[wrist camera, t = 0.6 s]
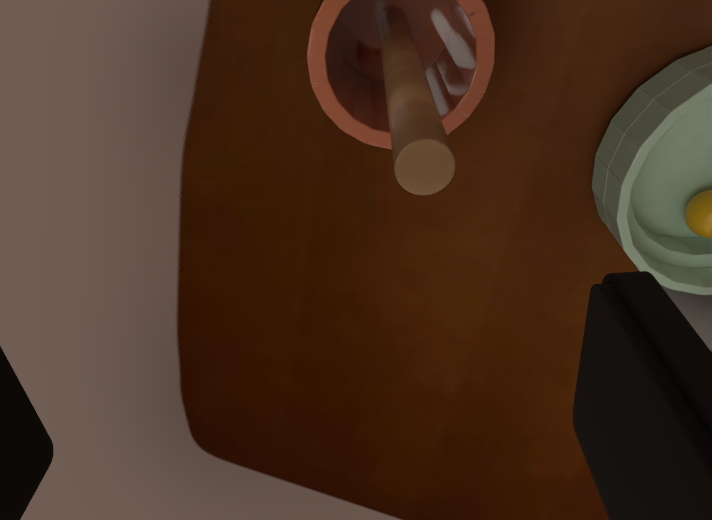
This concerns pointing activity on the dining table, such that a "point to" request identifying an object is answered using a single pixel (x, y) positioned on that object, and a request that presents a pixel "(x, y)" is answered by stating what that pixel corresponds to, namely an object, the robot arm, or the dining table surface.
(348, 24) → the utensil pot
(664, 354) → the robot arm
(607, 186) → the bowl
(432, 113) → the stirring stick
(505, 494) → the dining table surface
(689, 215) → the ball
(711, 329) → the cup
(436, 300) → the dining table surface
